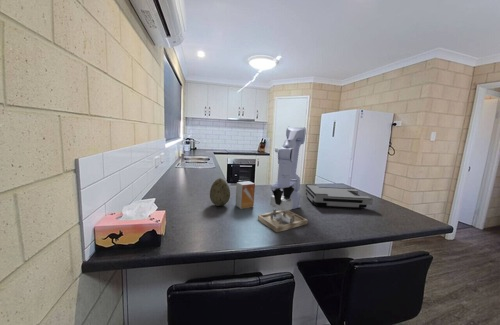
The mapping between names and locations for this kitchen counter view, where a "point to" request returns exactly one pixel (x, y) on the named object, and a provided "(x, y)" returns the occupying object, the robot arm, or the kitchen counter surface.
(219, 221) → the kitchen counter surface
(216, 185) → the decorative egg
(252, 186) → the small box
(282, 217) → the tray
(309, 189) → the game console
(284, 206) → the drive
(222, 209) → the kitchen counter surface
